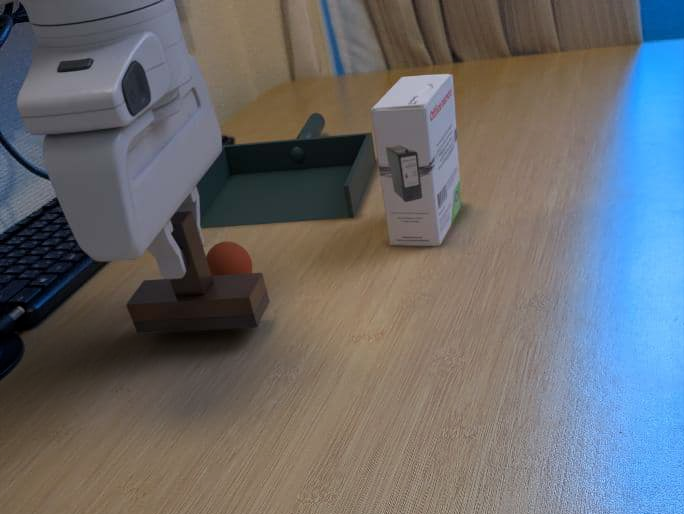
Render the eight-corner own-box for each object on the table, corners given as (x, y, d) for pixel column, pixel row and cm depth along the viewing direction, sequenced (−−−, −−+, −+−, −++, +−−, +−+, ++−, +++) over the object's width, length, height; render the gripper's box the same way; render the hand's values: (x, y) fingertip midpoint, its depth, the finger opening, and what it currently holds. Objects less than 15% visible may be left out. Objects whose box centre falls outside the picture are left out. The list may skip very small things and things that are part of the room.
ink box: (414, 207, 80) (399, 73, 72) (464, 207, 78) (454, 70, 70) (387, 246, 74) (368, 106, 66) (440, 247, 73) (426, 104, 65)
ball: (206, 300, 71) (193, 255, 68) (219, 278, 74) (207, 234, 71) (250, 297, 70) (238, 253, 68) (262, 275, 73) (251, 231, 70)
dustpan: (353, 218, 80) (348, 185, 78) (189, 229, 83) (180, 198, 81) (389, 128, 98) (386, 99, 96) (253, 140, 101) (247, 112, 98)
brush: (136, 333, 65) (98, 235, 59) (154, 308, 68) (118, 212, 62) (257, 327, 63) (229, 225, 58) (269, 301, 66) (243, 202, 60)
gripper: (131, 23, 61) (188, 209, 70) (1, 115, 46) (95, 334, 56) (211, 13, 60) (259, 203, 69) (104, 105, 45) (182, 329, 55)
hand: (185, 263), depth 62 cm, fingers closed on brush, 2 cm apart
